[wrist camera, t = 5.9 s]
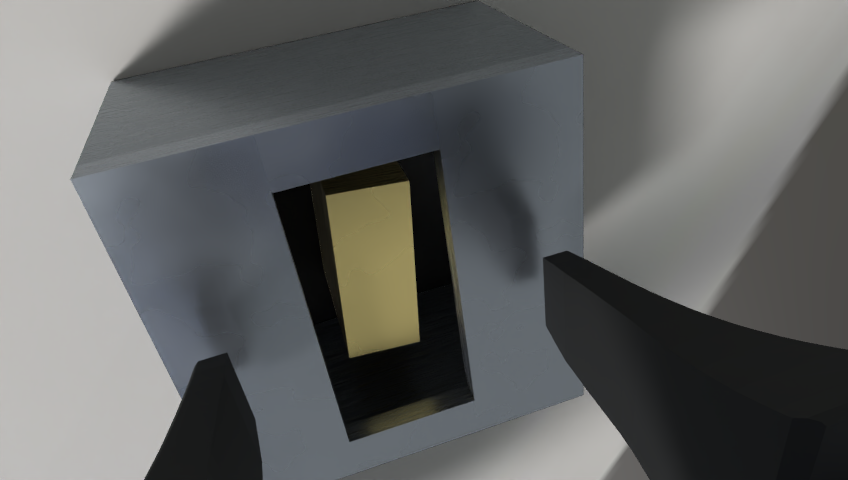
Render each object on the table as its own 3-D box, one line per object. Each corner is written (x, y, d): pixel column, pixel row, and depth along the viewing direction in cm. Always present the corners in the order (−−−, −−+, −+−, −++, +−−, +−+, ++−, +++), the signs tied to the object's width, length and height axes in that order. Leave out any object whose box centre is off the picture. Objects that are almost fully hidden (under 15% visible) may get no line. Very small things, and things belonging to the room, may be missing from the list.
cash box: (231, 363, 22) (239, 513, 17) (111, 81, 16) (70, 179, 11) (502, 281, 23) (583, 394, 18) (478, 0, 18) (583, 54, 13)
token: (323, 269, 21) (349, 358, 17) (300, 126, 18) (325, 195, 14) (382, 257, 21) (420, 341, 18) (368, 116, 19) (409, 180, 15)
